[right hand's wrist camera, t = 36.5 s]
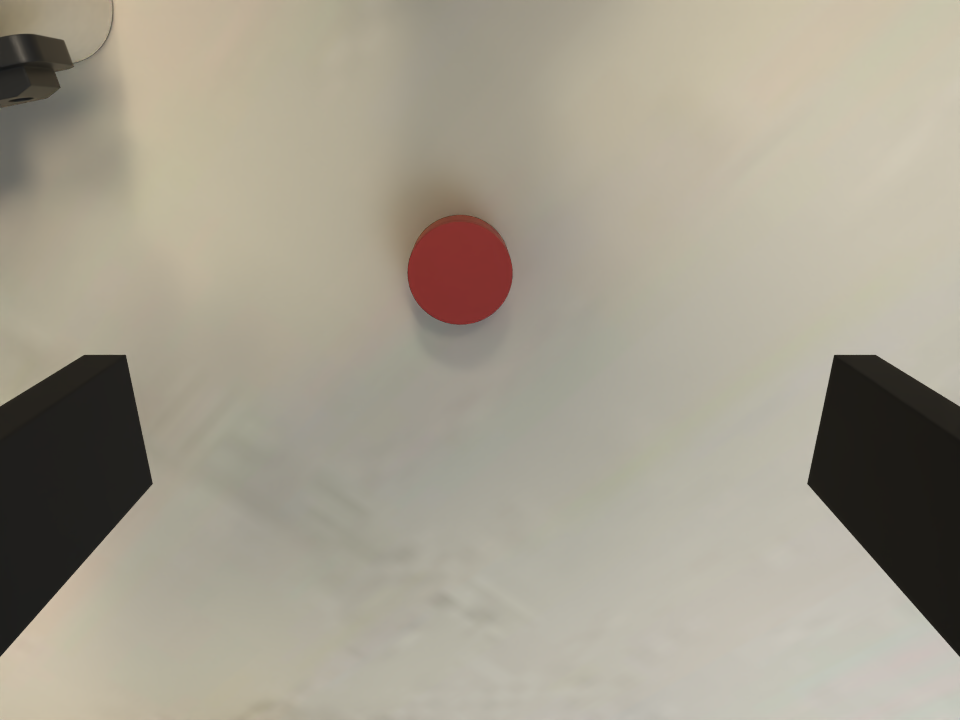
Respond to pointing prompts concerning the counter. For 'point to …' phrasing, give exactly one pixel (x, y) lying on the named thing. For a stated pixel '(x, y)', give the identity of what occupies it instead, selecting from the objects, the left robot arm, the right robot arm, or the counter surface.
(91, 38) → the bottle
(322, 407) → the counter surface
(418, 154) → the counter surface
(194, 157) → the counter surface
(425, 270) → the cap
